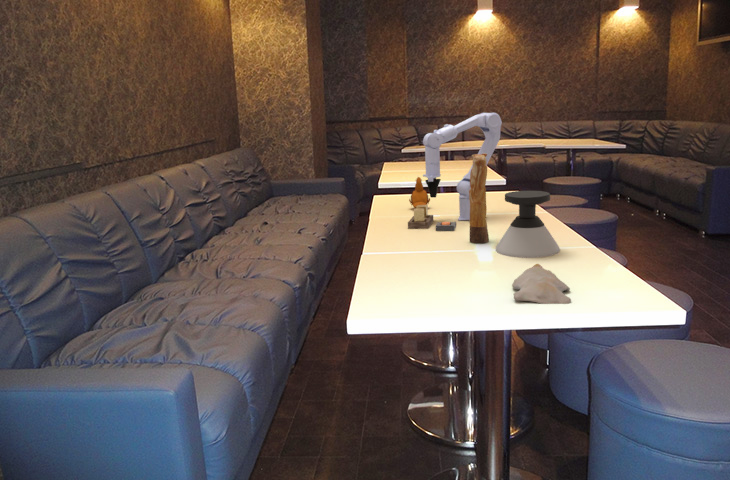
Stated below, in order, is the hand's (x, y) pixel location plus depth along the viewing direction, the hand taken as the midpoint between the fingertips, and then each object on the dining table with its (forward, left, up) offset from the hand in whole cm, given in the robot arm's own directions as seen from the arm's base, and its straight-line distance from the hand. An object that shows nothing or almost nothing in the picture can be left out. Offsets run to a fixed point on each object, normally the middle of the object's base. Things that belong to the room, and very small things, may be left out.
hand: (433, 197), depth 249 cm
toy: (+11, -31, -11) cm, 35 cm away
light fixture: (-36, +46, -11) cm, 59 cm away
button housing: (-6, +13, -10) cm, 18 cm away
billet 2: (+5, +8, -9) cm, 13 cm away
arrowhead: (-39, +84, -11) cm, 94 cm away
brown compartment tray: (+5, +4, -10) cm, 12 cm away
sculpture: (-20, +33, -11) cm, 40 cm away
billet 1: (+5, 0, -9) cm, 11 cm away
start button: (-6, +13, -10) cm, 17 cm away
